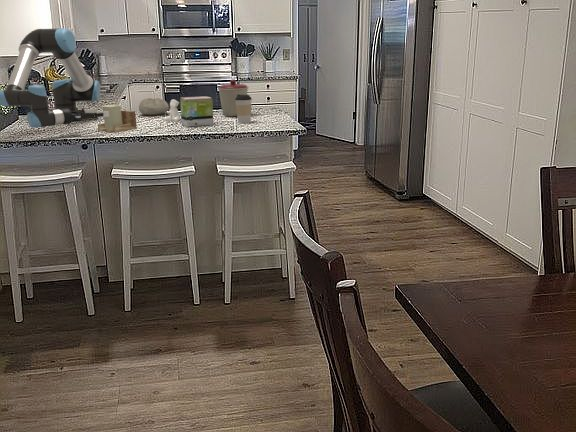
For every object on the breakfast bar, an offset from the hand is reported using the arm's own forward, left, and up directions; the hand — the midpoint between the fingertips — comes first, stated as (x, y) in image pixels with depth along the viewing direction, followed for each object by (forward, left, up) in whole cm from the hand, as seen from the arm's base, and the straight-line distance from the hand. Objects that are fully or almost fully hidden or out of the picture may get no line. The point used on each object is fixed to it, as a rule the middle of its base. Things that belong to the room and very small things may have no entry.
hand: (102, 112), depth 302 cm
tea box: (+28, +39, -10) cm, 49 cm away
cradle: (+1, +7, -10) cm, 12 cm away
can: (+1, +5, -9) cm, 10 cm away
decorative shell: (-22, +55, -10) cm, 60 cm away
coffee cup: (+45, +58, -10) cm, 74 cm away
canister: (+24, +75, -10) cm, 79 cm away
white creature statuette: (+6, +43, -10) cm, 45 cm away
